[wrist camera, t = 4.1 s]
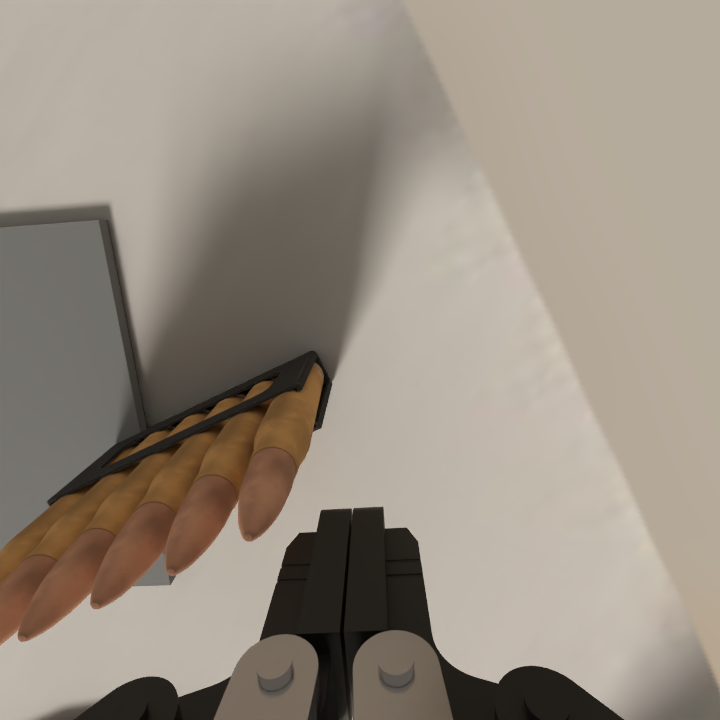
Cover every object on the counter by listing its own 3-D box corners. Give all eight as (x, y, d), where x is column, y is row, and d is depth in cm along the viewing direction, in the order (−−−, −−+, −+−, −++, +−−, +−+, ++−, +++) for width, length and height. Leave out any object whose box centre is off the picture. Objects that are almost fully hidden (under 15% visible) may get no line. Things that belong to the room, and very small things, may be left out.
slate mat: (107, 220, 19) (98, 219, 18) (175, 576, 23) (170, 585, 23) (-194, 243, 20) (-211, 243, 19) (-75, 584, 24) (-87, 592, 23)
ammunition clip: (315, 349, 20) (268, 479, 8) (333, 384, 20) (313, 556, 9) (112, 445, 21) (-191, 688, 9) (134, 477, 21) (-130, 749, 9)
